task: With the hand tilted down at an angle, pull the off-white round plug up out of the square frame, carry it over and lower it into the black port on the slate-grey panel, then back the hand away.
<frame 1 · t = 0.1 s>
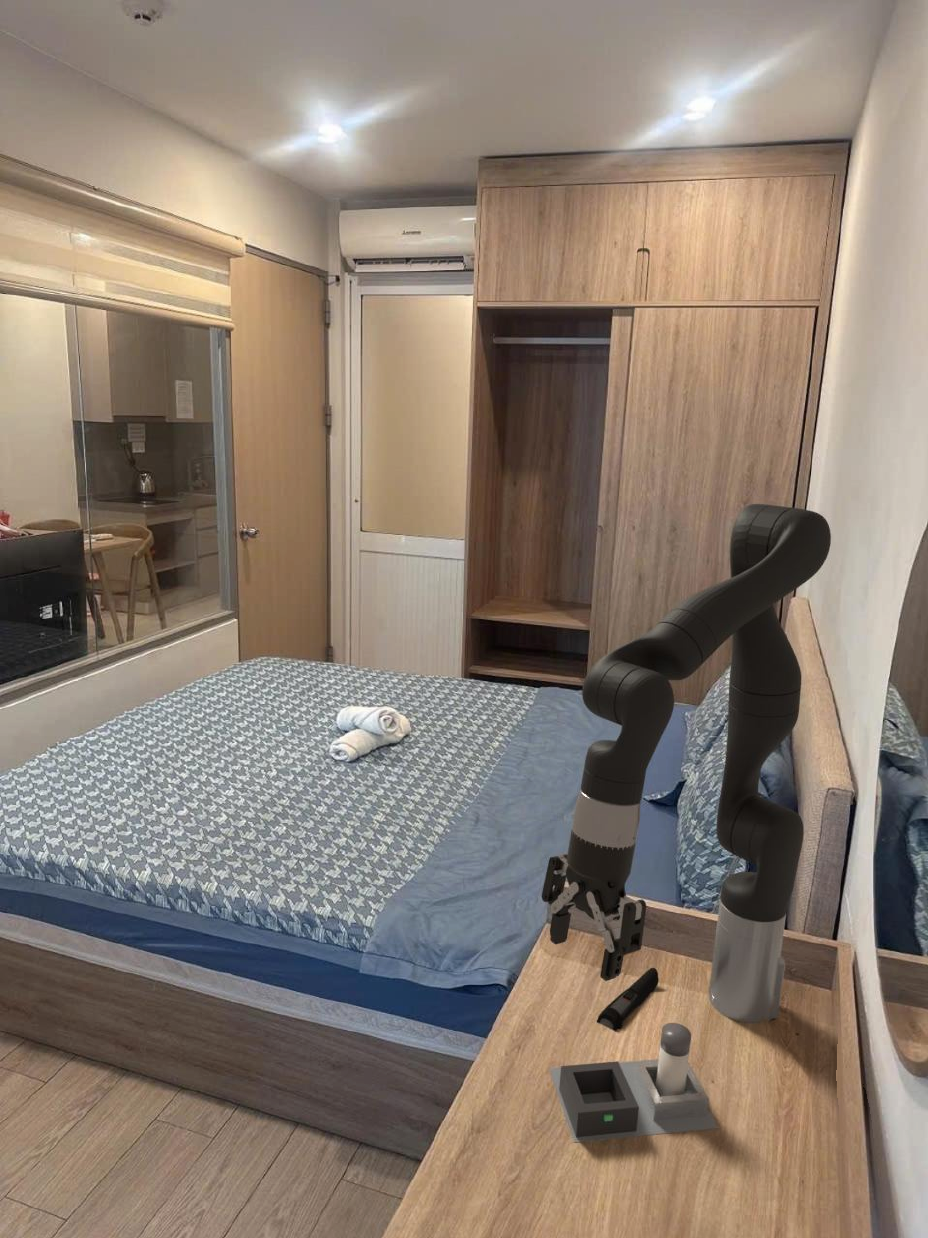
hand: (582, 959, 103), 22 cm above the table, tool pointing down, fingers open, 8 cm apart
electric trimmer: (627, 1010, 129), on the table
port: (596, 1110, 108), resting on panel
plug: (672, 1065, 109), in the square frame, point 6 cm above the table, touching panel
square frame: (670, 1088, 110), on the panel, point 2 cm above the table
panel: (630, 1103, 110), on the table
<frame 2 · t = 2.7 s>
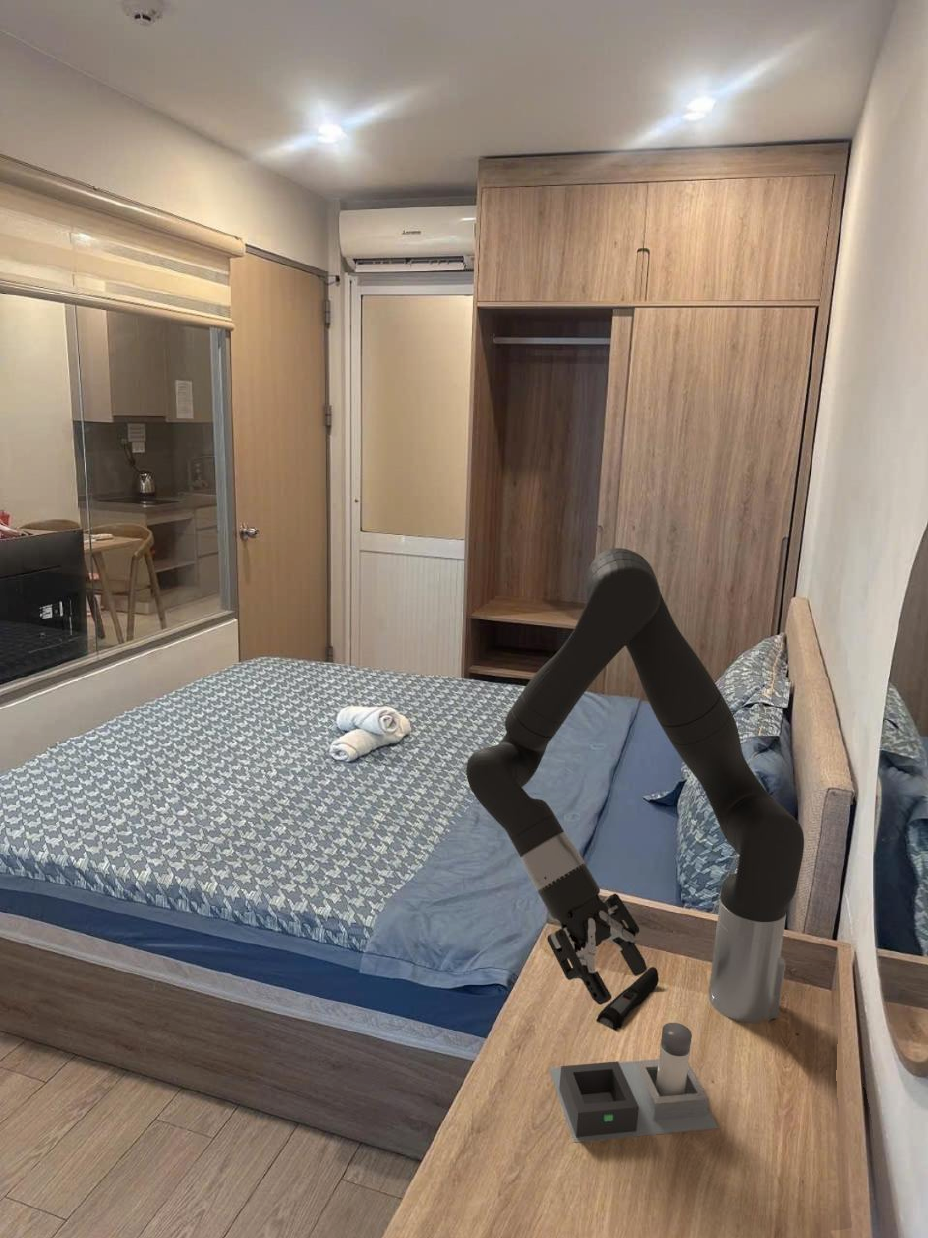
hand: (624, 987, 113), 13 cm above the table, tool tilted 45°, fingers open, 8 cm apart
nothing on the table moved.
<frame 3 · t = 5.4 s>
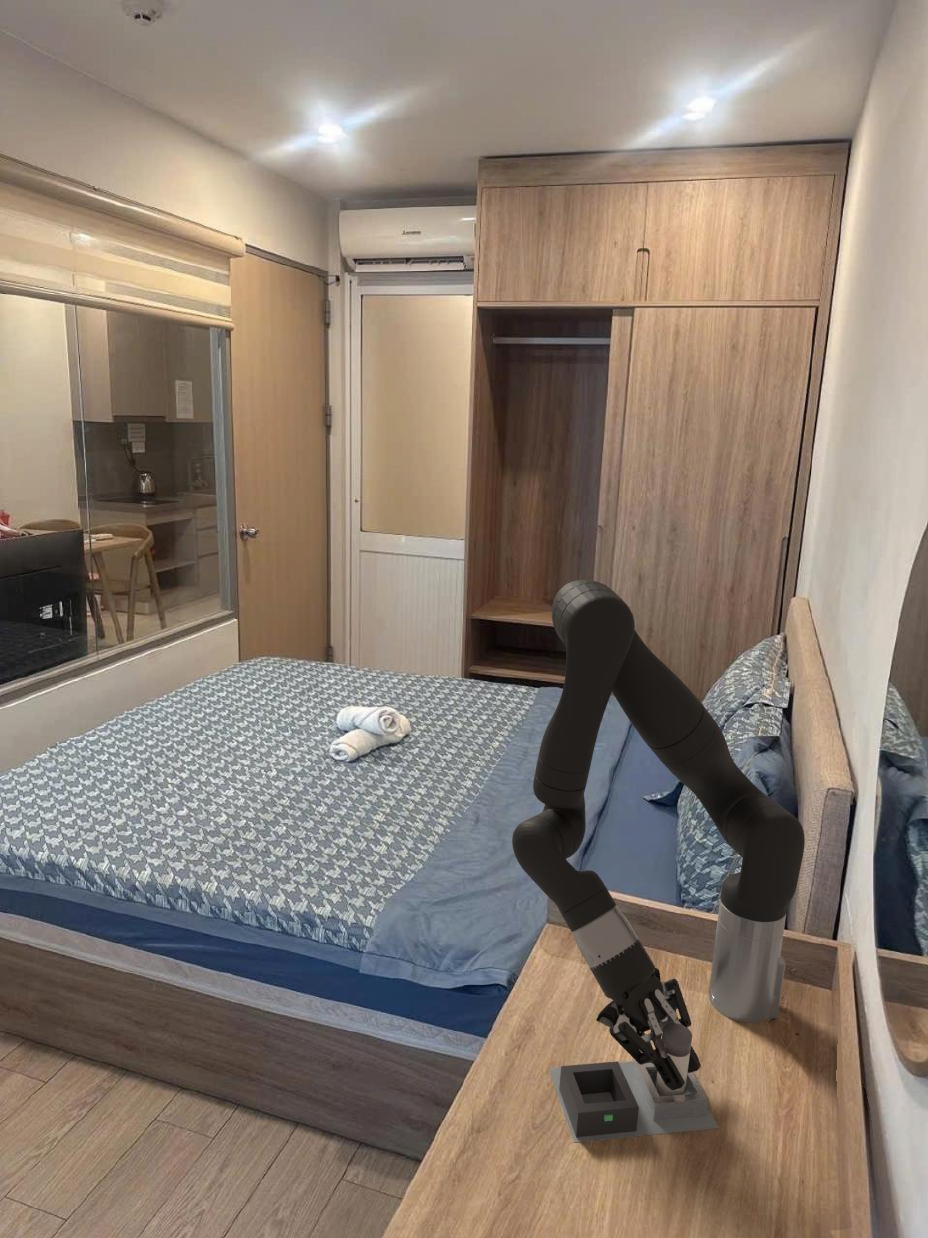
hand: (686, 1078, 108), 5 cm above the table, tool tilted 45°, fingers closed on plug, 3 cm apart
plug: (673, 1065, 109), in the square frame, point 6 cm above the table, touching gripper, panel
everything else where it was.
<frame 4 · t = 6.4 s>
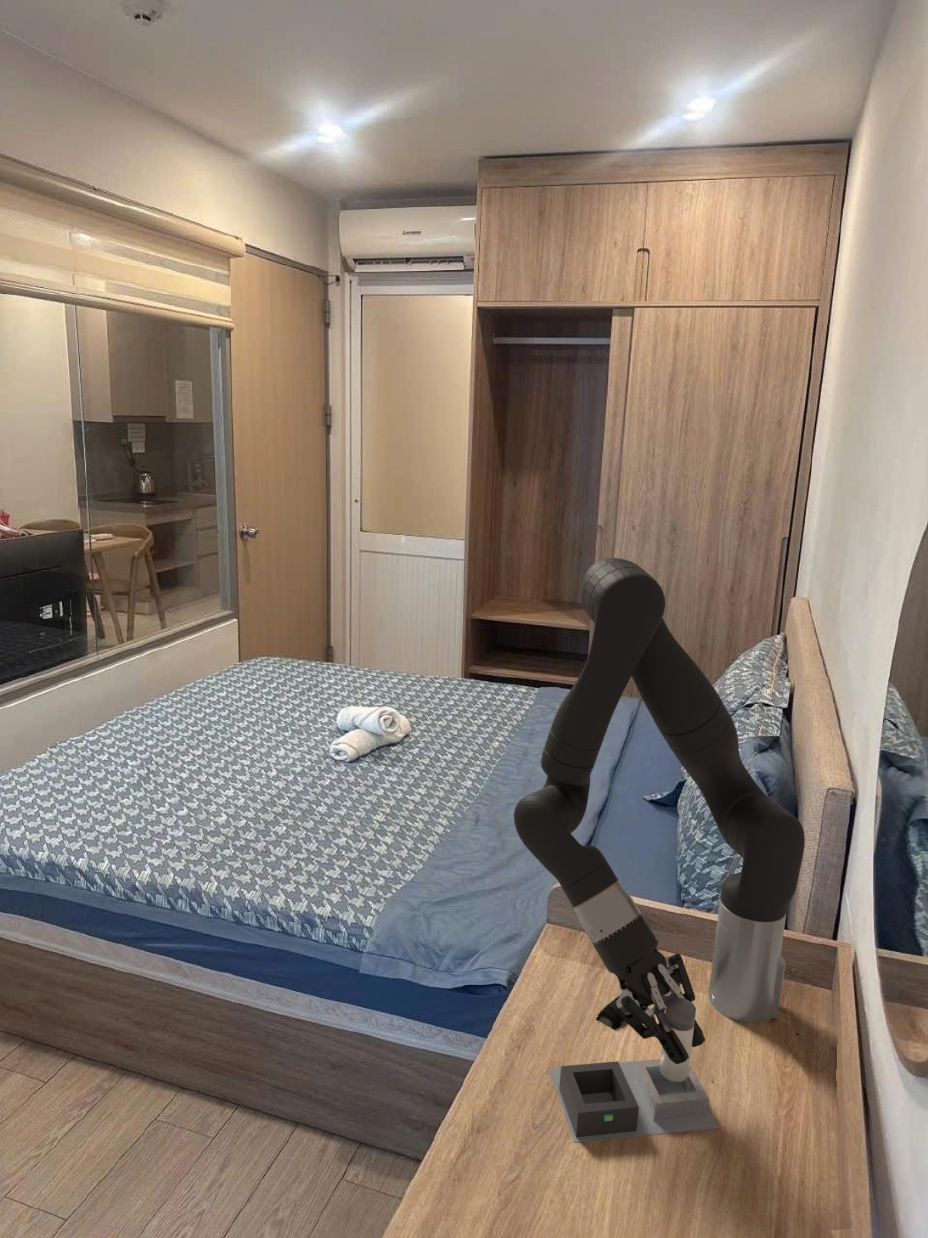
hand: (690, 1052, 108), 9 cm above the table, tool tilted 45°, fingers closed on plug, 3 cm apart
plug: (677, 1039, 109), point 9 cm above the table, touching gripper
everything else where it was.
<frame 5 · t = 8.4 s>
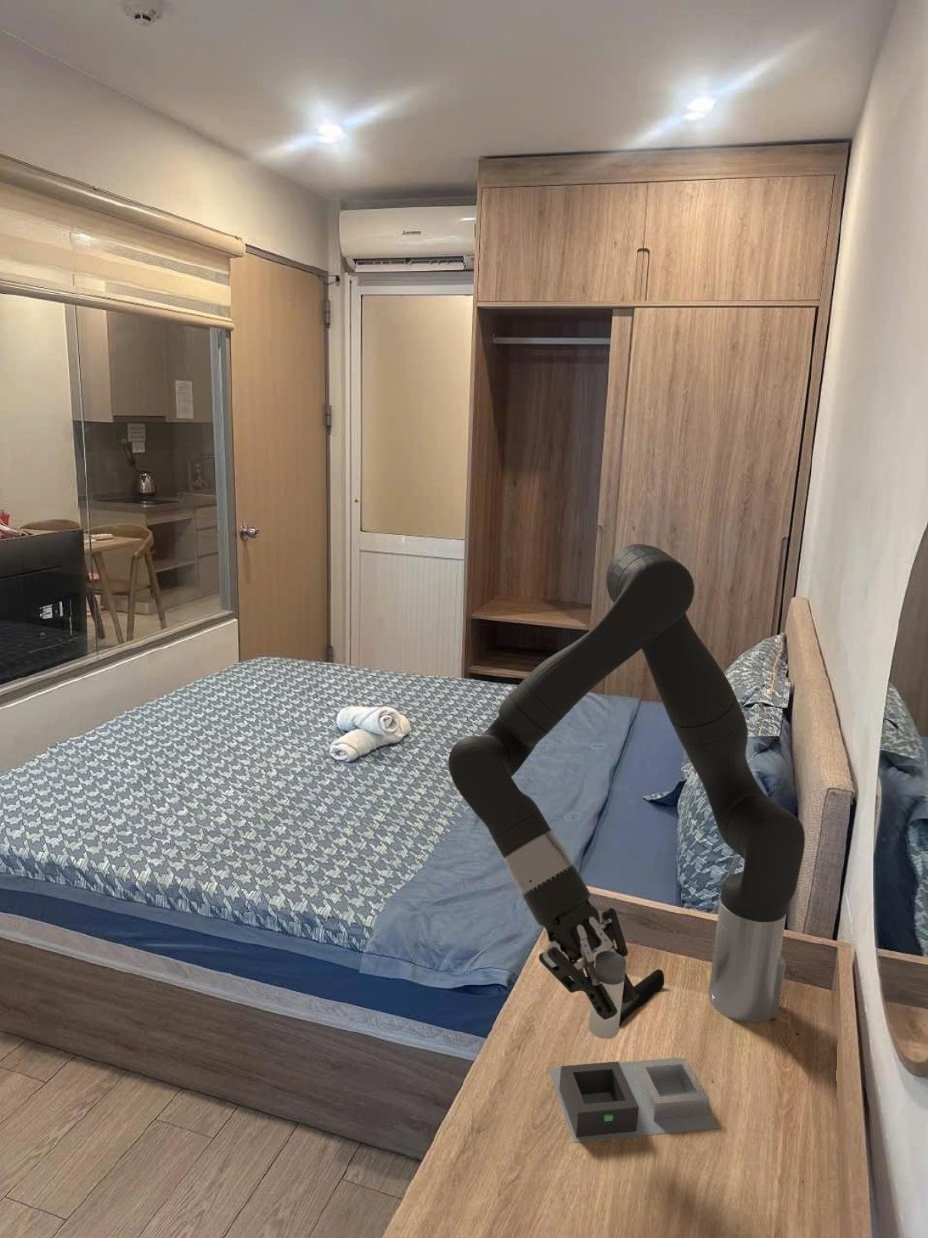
hand: (620, 1008, 103), 17 cm above the table, tool tilted 45°, fingers closed on plug, 3 cm apart
plug: (607, 994, 104), point 18 cm above the table, touching gripper
everything else where it was.
when the fingers open (6 cm above the table, at t = 11.1 s): plug stays where it is, resting on panel.
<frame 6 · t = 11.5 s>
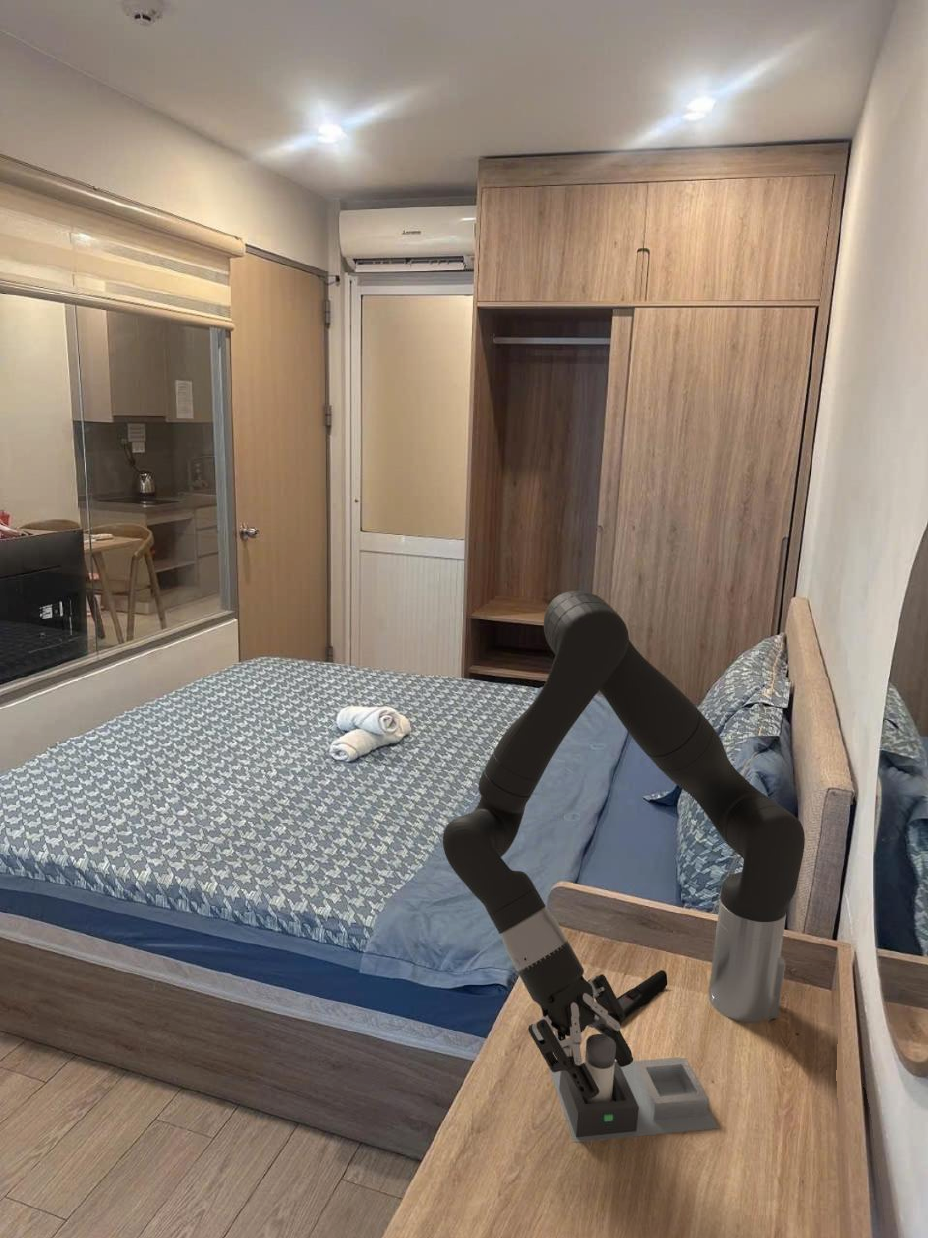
hand: (610, 1079, 106), 6 cm above the table, tool tilted 45°, fingers open, 7 cm apart
plug: (598, 1077, 107), in the port, point 6 cm above the table, touching panel
everything else where it was.
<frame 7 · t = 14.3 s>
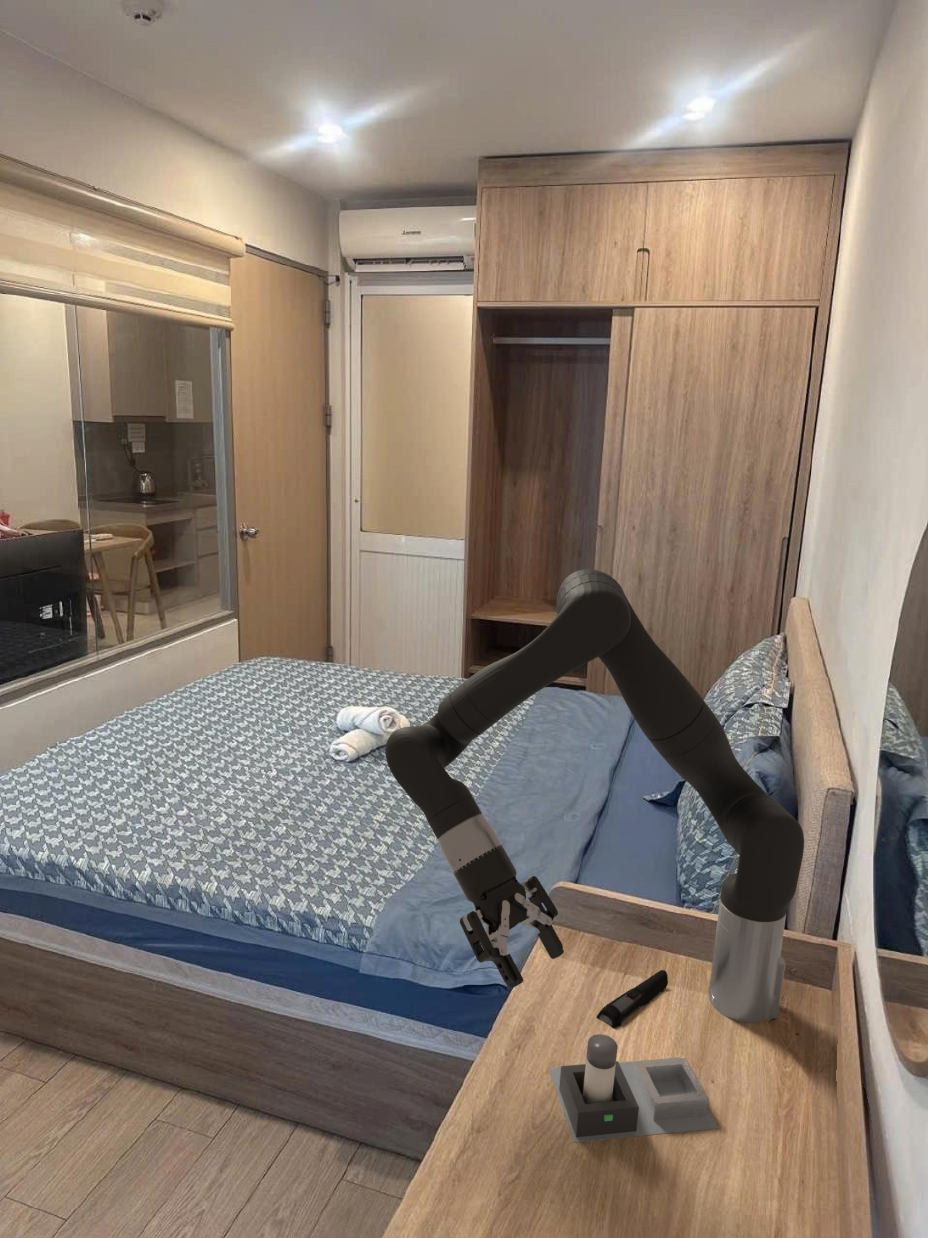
hand: (538, 970, 111), 16 cm above the table, tool tilted 45°, fingers open, 8 cm apart
nothing on the table moved.
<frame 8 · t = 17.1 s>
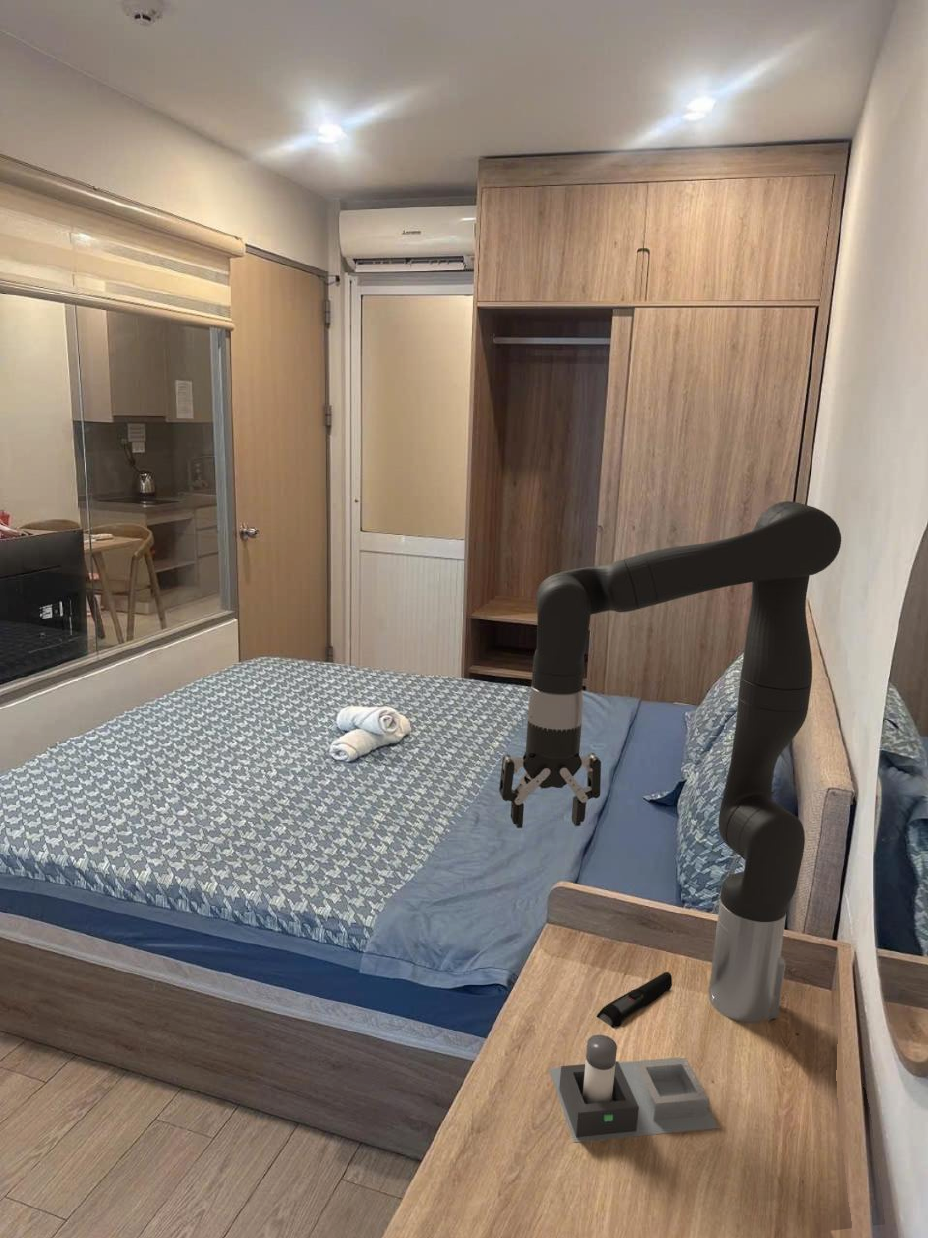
hand: (547, 824, 124), 28 cm above the table, tool pointing down, fingers open, 8 cm apart
at the end: plug 0.1 cm off-centre on the port, point 4.8 cm above the port's base; plug tilted 1°; the gripper is holding nothing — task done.
